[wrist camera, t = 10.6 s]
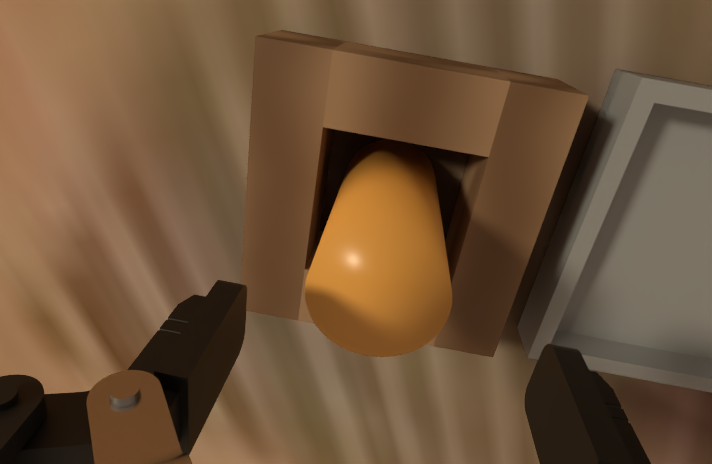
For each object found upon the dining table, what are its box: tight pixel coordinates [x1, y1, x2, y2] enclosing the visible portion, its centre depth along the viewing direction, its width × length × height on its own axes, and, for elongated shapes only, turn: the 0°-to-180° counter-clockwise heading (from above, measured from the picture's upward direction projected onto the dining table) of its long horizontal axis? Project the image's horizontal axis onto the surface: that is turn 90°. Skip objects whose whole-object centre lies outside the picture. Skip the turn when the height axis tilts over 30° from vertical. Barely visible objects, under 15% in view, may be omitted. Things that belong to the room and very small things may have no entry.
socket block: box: [241, 30, 589, 357], centre depth 21 cm, size 12×12×4 cm
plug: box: [305, 139, 452, 357], centre depth 19 cm, size 4×4×10 cm
